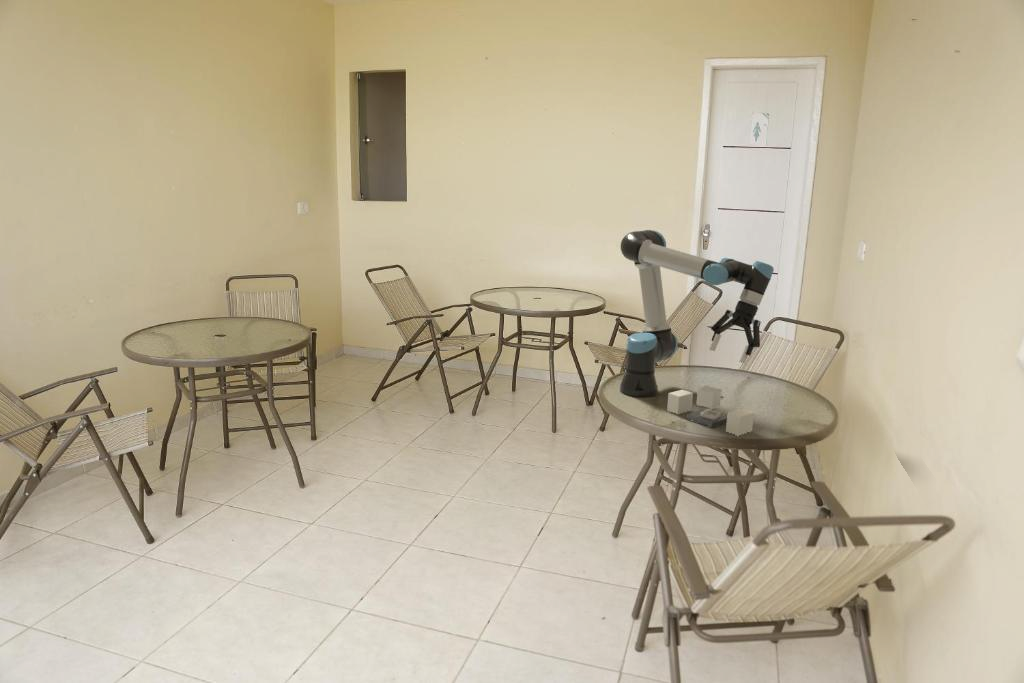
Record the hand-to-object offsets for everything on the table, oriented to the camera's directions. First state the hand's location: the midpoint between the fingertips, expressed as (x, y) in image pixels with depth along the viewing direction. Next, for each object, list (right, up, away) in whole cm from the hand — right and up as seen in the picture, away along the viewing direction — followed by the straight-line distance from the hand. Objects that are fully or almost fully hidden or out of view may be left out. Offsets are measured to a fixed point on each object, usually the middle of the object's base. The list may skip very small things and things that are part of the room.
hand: (726, 356), depth 257 cm
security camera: (-9, -21, -9) cm, 25 cm away
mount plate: (-9, -23, -9) cm, 26 cm away
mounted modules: (-9, -23, -9) cm, 26 cm away
